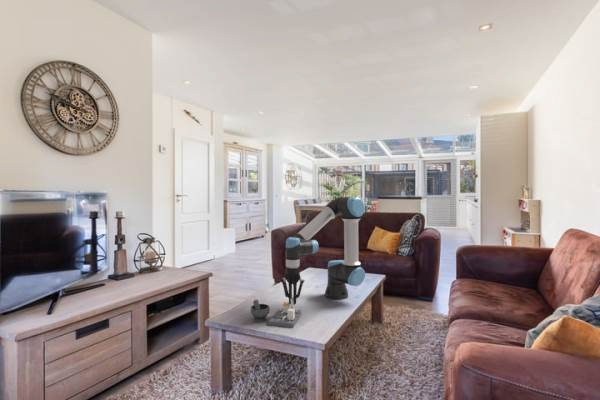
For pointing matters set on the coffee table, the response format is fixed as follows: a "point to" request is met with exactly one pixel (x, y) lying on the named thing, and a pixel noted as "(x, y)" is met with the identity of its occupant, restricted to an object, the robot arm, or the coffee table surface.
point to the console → (284, 319)
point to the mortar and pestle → (259, 311)
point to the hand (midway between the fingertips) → (292, 310)
